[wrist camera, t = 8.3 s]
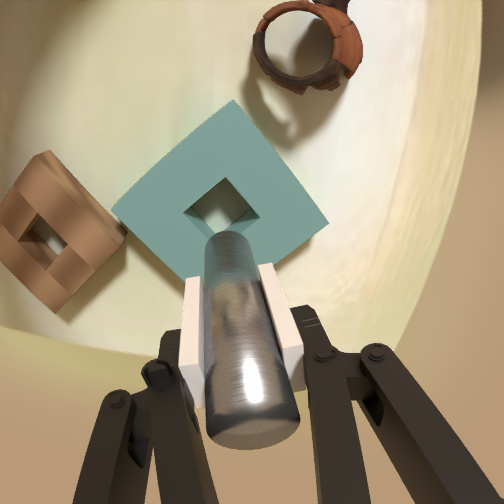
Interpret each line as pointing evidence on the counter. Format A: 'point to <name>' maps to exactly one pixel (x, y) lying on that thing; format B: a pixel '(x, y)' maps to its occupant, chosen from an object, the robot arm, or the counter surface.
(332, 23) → the brown ring with knob
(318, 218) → the dock socket
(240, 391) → the pin
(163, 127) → the counter surface
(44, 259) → the pin mount
